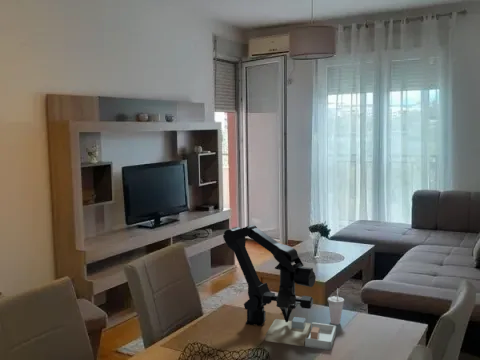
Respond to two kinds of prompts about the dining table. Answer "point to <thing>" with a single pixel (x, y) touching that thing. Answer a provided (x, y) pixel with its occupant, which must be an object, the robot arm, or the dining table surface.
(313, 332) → the tile front
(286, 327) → the board
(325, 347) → the tray
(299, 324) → the tile back
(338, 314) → the smoothie
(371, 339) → the dining table surface
